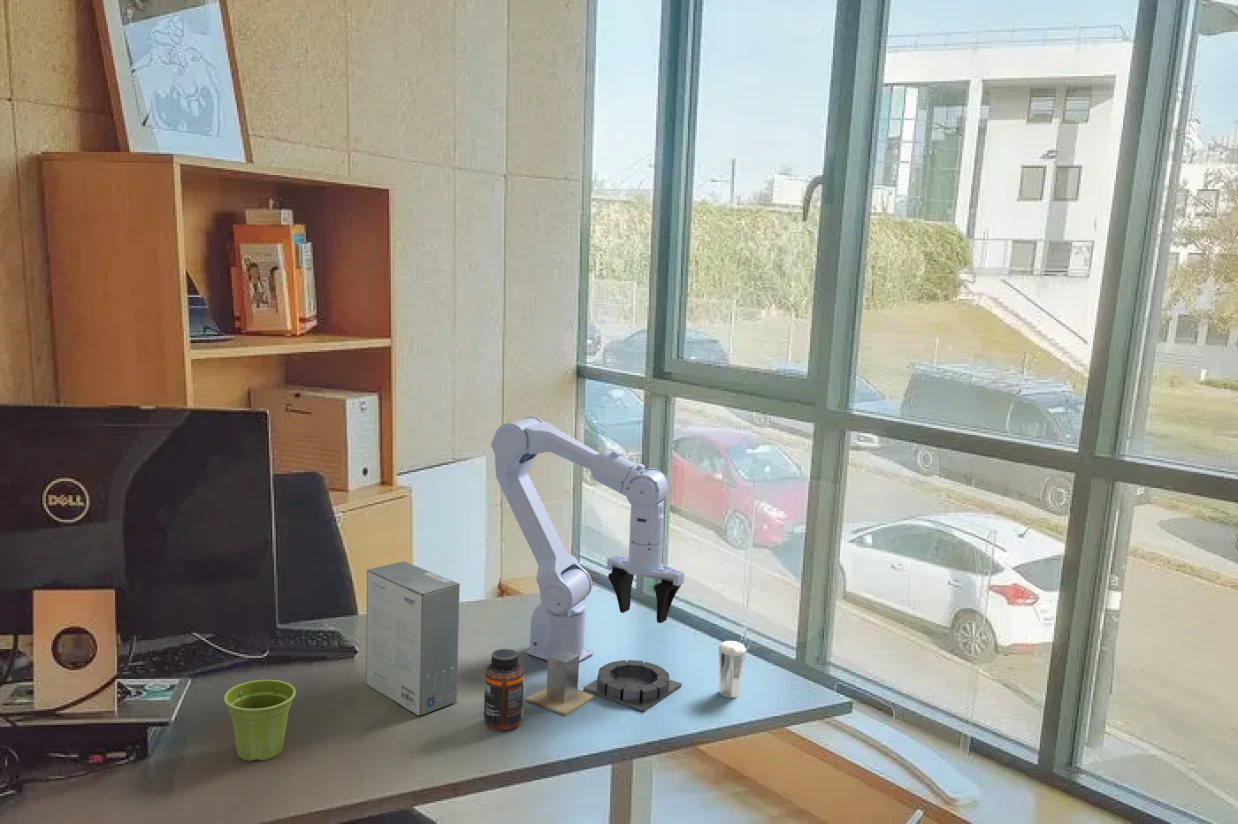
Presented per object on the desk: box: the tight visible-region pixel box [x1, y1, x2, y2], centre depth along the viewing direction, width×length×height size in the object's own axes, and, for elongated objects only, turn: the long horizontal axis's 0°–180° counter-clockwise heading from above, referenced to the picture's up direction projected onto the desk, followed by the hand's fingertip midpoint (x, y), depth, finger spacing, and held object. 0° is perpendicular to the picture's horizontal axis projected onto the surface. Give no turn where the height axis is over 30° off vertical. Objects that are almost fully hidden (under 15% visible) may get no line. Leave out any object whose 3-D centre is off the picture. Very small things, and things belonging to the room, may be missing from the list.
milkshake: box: [718, 640, 753, 699], centre depth 160 cm, size 5×5×10 cm
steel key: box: [546, 650, 580, 703], centre depth 156 cm, size 4×4×7 cm
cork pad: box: [525, 686, 596, 716], centre depth 156 cm, size 8×8×1 cm
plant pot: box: [223, 679, 297, 762], centre depth 135 cm, size 9×9×9 cm
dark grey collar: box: [582, 659, 683, 713], centre depth 161 cm, size 12×12×2 cm
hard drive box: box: [365, 560, 461, 716], centre depth 154 cm, size 16×8×20 cm, turn 47°
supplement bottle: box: [483, 648, 525, 732], centre depth 146 cm, size 6×6×11 cm
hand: (643, 616), depth 166 cm, fingers open, 7 cm apart
